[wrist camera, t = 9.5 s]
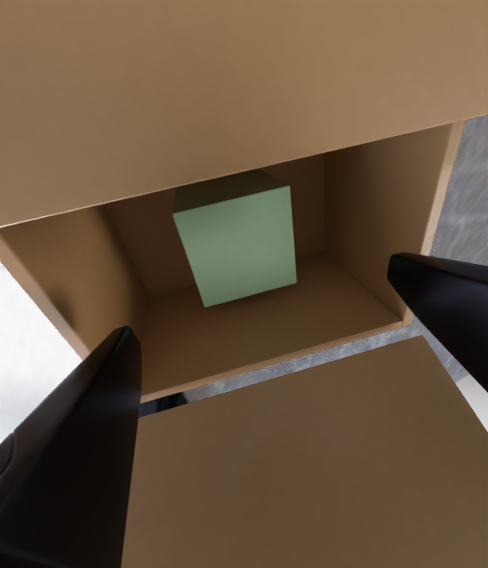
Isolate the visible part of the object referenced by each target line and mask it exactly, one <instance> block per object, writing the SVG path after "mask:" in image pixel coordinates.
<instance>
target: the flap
mask: <svg viewBox="0 0 488 568" xmlns="http://www.w3.org/2000/svg"><path fill="white" fill-rule="evenodd" d="M121 568H488V432H487V430H486V429H485V428H484V426H483V424H482V423H481V421H480V420H479V418H478V417H477V416H476V414H475V412H474V411H473V409H472V408H471V407H470V405H469V403H468V402H467V401H466V399H465V397H464V396H463V395H462V393H461V391H460V390H459V388H458V387H457V386H456V384H455V382H454V381H453V379H452V378H451V376H450V375H449V373H448V372H447V370H446V369H445V367H444V366H443V364H442V363H441V361H440V360H439V358H438V357H437V355H436V354H435V352H434V351H433V349H432V348H431V346H430V345H429V343H428V342H427V340H426V339H425V337H424V336H423V335H420V336H416V337H413V338H410V339H406V340H403V341H399V342H396V343H393V344H389V345H386V346H382V347H379V348H376V349H372V350H369V351H365V352H362V353H359V354H355V355H352V356H348V357H345V358H342V359H338V360H335V361H331V362H328V363H325V364H321V365H318V366H314V367H311V368H308V369H304V370H301V371H297V372H294V373H291V374H287V375H284V376H280V377H277V378H274V379H270V380H267V381H263V382H260V383H257V384H253V385H250V386H246V387H243V388H240V389H236V390H233V391H229V392H226V393H222V394H219V395H216V396H212V397H209V398H205V399H202V400H199V401H195V402H192V403H188V404H185V405H182V406H178V407H175V408H171V409H168V410H165V411H161V412H158V413H154V414H151V415H148V416H144V417H141V418H139V419H138V428H137V436H136V445H135V453H134V462H133V470H132V479H131V487H130V496H129V504H128V513H127V521H126V530H125V538H124V547H123V555H122V564H121Z"/></svg>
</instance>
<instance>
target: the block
mask: <svg viewBox="0 0 488 568" xmlns="http://www.w3.org/2000/svg"><path fill="white" fill-rule="evenodd" d="M172 215H173V218H174V221H175V224H176V227H177V230H178V233H179V236H180V238H181V241H182V244H183V247H184V250H185V253H186V256H187V258H188V261H189V264H190V267H191V270H192V273H193V276H194V279H195V281H196V284H197V287H198V290H199V293H200V296H201V299H202V302H203V304H204V307H209V306H213V305H217V304H220V303H224V302H228V301H231V300H235V299H239V298H243V297H246V296H250V295H254V294H257V293H261V292H265V291H268V290H272V289H276V288H280V287H283V286H287V285H291V284H294V283H297V278H296V265H295V251H294V237H293V223H292V209H291V196H290V186H289V185H288V184H286V183H284V182H283V181H281V180H279V179H277V178H275V177H274V176H272V175H270V174H268V173H266V172H265V171H263V170H261V169H256V170H252V171H248V172H243V173H239V174H235V175H231V176H226V177H222V178H218V179H214V180H209V181H205V182H201V183H197V184H192V185H188V186H184V187H179V188H176V191H175V198H174V205H173V212H172Z"/></svg>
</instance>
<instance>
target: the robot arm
mask: <svg viewBox="0 0 488 568" xmlns="http://www.w3.org/2000/svg"><path fill="white" fill-rule="evenodd" d="M387 279H388V281H389V283H390V284H391V285H392V287H393V288H394V289H395V291H396V292H397V293H398V295H399V296H400V297H401V298H402V300H403V301H404V302H405V304H406V305H407V306H408V308H409V309H410V310H411V311H412V313H413V314H414V315H415V316H416V317H417V318H418V319H419V321H420V322H421V323H422V324H423V325H424V326H425V327H426V328H427V329H428V330H429V331H430V332H431V333H432V334H433V335H434V336H435V337H436V339H437V340H438V341H439V342H440V343H441V344H442V345H443V346H444V347H445V348H446V349H447V350H448V351H449V352H450V353H451V354H452V355H453V356H454V358H455V359H456V360H457V361H458V362H459V363H460V364H461V365H462V366H463V367H464V368H465V369H466V370H467V371H468V372H469V373H470V374H471V375H472V377H474V379H475V380H476V381H477V382H478V383H479V384H480V385H481V386H482V387H483V388H484V389H485V390H486V391H487V392H488V266H484V265H478V264H473V263H467V262H461V261H455V260H450V259H444V258H438V257H432V256H426V255H421V254H415V253H409V252H400V253H396V254H393V255H392V256H391V257H390V259H389V265H388V270H387ZM141 390H142V349H141V344H140V342H139V340H138V339H137V337H136V335H135V334H134V332H133V330H132V329H131V327H130V326H123V327H119V328H116V329H114V330H113V331H112V332H111V333H110V334H109V335H108V336H107V337H106V338H105V339H104V340H103V341H102V342H101V343H100V344H99V345H98V346H97V347H96V348H95V349H94V350H93V351H92V352H91V353H90V354H89V355H88V356H87V357H86V358H85V359H84V360H83V361H82V362H81V363H80V364H79V365H78V366H77V367H76V368H75V369H74V370H73V371H72V372H71V373H70V374H69V375H68V376H67V377H66V378H65V379H64V380H63V381H62V382H61V383H60V384H59V385H58V386H57V387H56V388H55V389H54V390H53V391H52V392H51V393H50V394H49V395H48V396H47V398H46V399H45V400H44V401H43V402H42V403H41V404H40V405H39V406H38V407H37V408H36V409H35V410H34V411H33V412H32V413H31V414H30V415H29V416H28V417H27V418H26V419H25V420H24V421H23V422H22V423H21V424H20V425H19V426H18V427H17V428H16V429H15V430H14V432H13V433H11V434H10V435H9V436H8V437H7V438H6V439H5V440H4V441H3V442H2V443H1V444H0V568H121V564H122V555H123V547H124V538H125V530H126V521H127V513H128V504H129V496H130V487H131V479H132V470H133V462H134V453H135V445H136V436H137V428H138V419H139V418H141V417H144V416H148V415H151V414H154V413H158V412H161V411H165V410H168V409H171V408H175V407H178V406H182V405H185V404H188V403H189V401H188V400H187V398H186V396H185V394H184V392H183V391H181V392H178V393H175V394H171V395H168V396H164V397H161V398H157V399H154V400H150V401H147V402H144V403H140V402H141Z"/></svg>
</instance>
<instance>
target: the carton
mask: <svg viewBox="0 0 488 568" xmlns="http://www.w3.org/2000/svg"><path fill="white" fill-rule="evenodd" d="M485 115H488V0H0V262H1V263H2V264H3V266H4V267H5V268H6V269H7V270H8V272H9V273H10V274H11V275H12V276H13V278H14V279H15V280H16V281H17V282H18V284H19V285H20V286H21V287H22V288H23V290H24V291H25V292H26V293H27V294H28V296H29V297H30V298H31V299H32V301H33V302H34V303H35V304H36V305H37V307H38V308H39V309H40V310H41V311H42V313H43V314H44V315H45V316H46V317H47V319H48V320H49V321H50V322H51V323H52V325H53V326H54V327H55V328H56V329H57V331H58V332H59V333H60V334H61V335H62V337H63V338H64V339H65V340H66V341H67V343H68V344H69V345H70V346H71V347H72V349H73V350H74V351H75V352H76V353H77V355H78V356H79V357H80V358H81V359H82V361H83V360H84V359H85V358H86V357H87V356H88V355H89V354H90V353H91V352H92V351H93V350H94V349H95V348H96V347H97V346H98V345H99V344H100V343H101V342H102V341H103V340H104V339H105V338H106V337H107V336H108V335H109V334H110V333H111V332H112V331H113V330H114V329H116V328H119V327H123V326H130V327H131V329H132V330H133V332H134V334H135V335H136V337H137V339H138V340H139V342H140V344H141V349H142V390H141V402H140V403H144V402H147V401H150V400H154V399H157V398H161V397H164V396H168V395H171V394H175V393H178V392H181V391H185V390H188V389H192V388H195V387H199V386H202V385H206V384H209V383H212V382H216V381H219V380H223V379H226V378H230V377H233V376H237V375H240V374H244V373H247V372H250V371H254V370H257V369H261V368H264V367H268V366H271V365H275V364H278V363H281V362H285V361H288V360H292V359H295V358H299V357H302V356H306V355H309V354H312V353H316V352H319V351H323V350H326V349H330V348H333V347H337V346H340V345H344V344H347V343H350V342H354V341H357V340H361V339H364V338H368V337H371V336H375V335H378V334H381V333H385V332H388V331H392V330H395V329H399V328H401V327H405V326H409V325H410V324H411V321H412V317H413V313H412V311H411V310H410V309H409V308H408V306H407V305H406V304H405V302H404V301H403V300H402V298H401V297H400V296H399V295H398V293H397V292H396V291H395V289H394V288H393V287H392V285H391V284H390V283H389V281H388V279H387V270H388V265H389V259H390V257H391V256H392V255H393V254H396V253H400V252H409V253H415V254H421V255H426V256H429V254H430V251H431V247H432V243H433V240H434V236H435V232H436V229H437V225H438V221H439V218H440V214H441V210H442V206H443V203H444V199H445V195H446V192H447V188H448V184H449V181H450V177H451V173H452V170H453V166H454V162H455V159H456V155H457V151H458V147H459V144H460V140H461V136H462V133H463V129H464V125H465V122H466V120H468V119H472V118H477V117H481V116H485ZM256 169H261V170H263V171H265V172H266V173H268V174H270V175H272V176H274V177H275V178H277V179H279V180H281V181H283V182H284V183H286V184H288V185H289V186H290V196H291V209H292V223H293V237H294V251H295V265H296V278H297V283H294V284H291V285H287V286H283V287H280V288H276V289H272V290H268V291H265V292H261V293H257V294H254V295H250V296H246V297H243V298H239V299H235V300H231V301H228V302H224V303H220V304H217V305H213V306H209V307H204V304H203V302H202V299H201V296H200V293H199V290H198V287H197V284H196V281H195V279H194V276H193V273H192V270H191V267H190V264H189V261H188V258H187V256H186V253H185V250H184V247H183V244H182V241H181V238H180V236H179V233H178V230H177V227H176V224H175V221H174V218H173V215H172V212H173V205H174V198H175V191H176V188H179V187H184V186H188V185H192V184H197V183H201V182H205V181H209V180H214V179H218V178H222V177H226V176H231V175H235V174H239V173H243V172H248V171H252V170H256Z"/></svg>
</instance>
